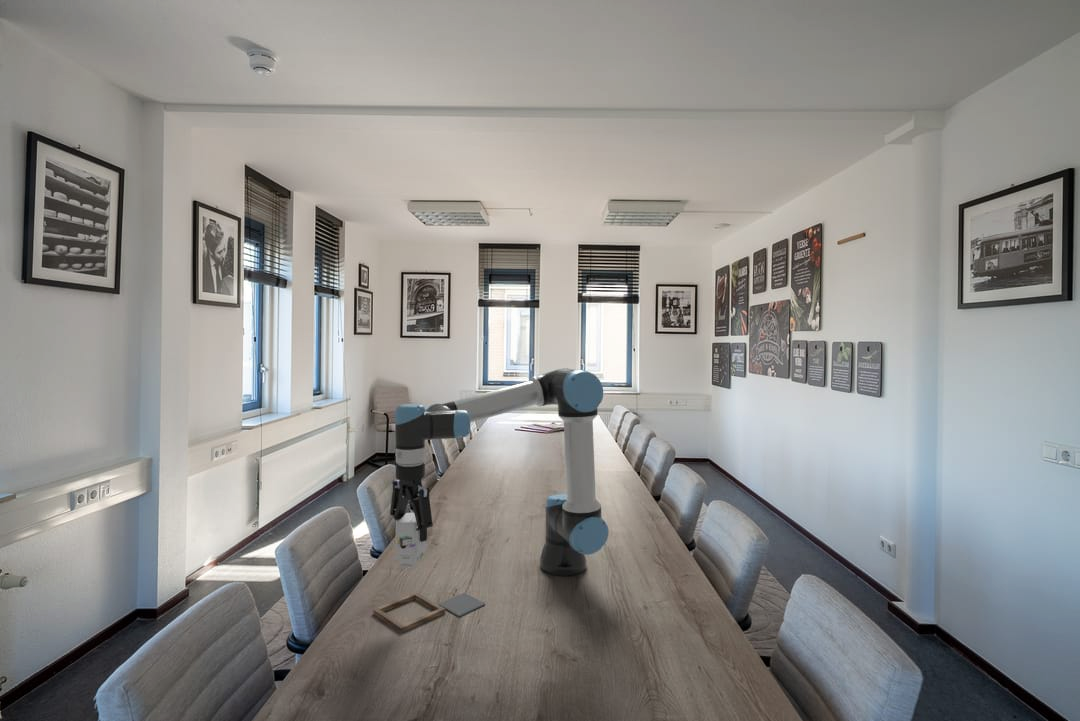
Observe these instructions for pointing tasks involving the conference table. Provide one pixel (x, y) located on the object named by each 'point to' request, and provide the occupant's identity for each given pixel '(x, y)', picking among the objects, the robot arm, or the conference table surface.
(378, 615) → the walnut holder
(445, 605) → the felt mat
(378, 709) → the conference table surface
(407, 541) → the ink box
